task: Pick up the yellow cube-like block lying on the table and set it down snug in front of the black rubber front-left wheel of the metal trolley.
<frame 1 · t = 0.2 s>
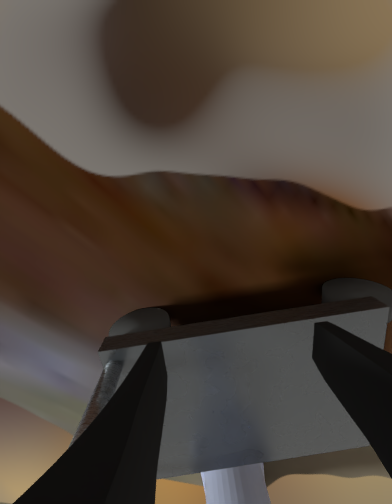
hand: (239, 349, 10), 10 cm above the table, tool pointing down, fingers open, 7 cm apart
trolley: (234, 348, 22), on the table
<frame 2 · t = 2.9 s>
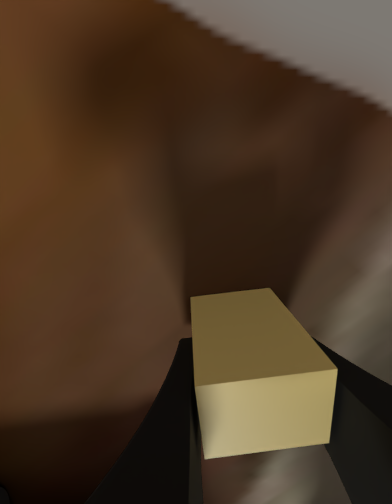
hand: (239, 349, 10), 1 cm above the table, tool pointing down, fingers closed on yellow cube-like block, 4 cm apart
yellow cube-like block: (232, 334, 11), on the table, touching gripper
when the fingers open (3 cm above the table, at t = 6.0 s): yellow cube-like block drops 1 cm, on the table.
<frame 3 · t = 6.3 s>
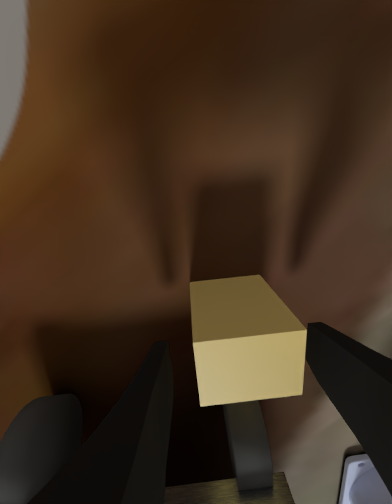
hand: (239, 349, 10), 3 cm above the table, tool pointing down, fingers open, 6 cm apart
trolley: (172, 491, 17), on the table
yellow cube-like block: (226, 315, 13), on the table
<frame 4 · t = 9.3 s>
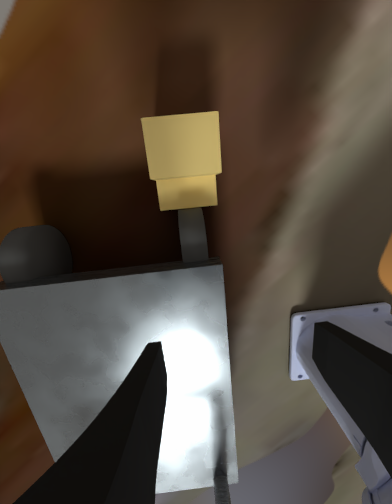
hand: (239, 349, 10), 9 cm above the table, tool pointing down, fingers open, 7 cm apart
trolley: (148, 346, 21), on the table
yellow cube-like block: (185, 172, 17), on the table
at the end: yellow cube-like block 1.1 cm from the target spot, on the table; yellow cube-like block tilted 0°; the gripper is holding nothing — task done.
